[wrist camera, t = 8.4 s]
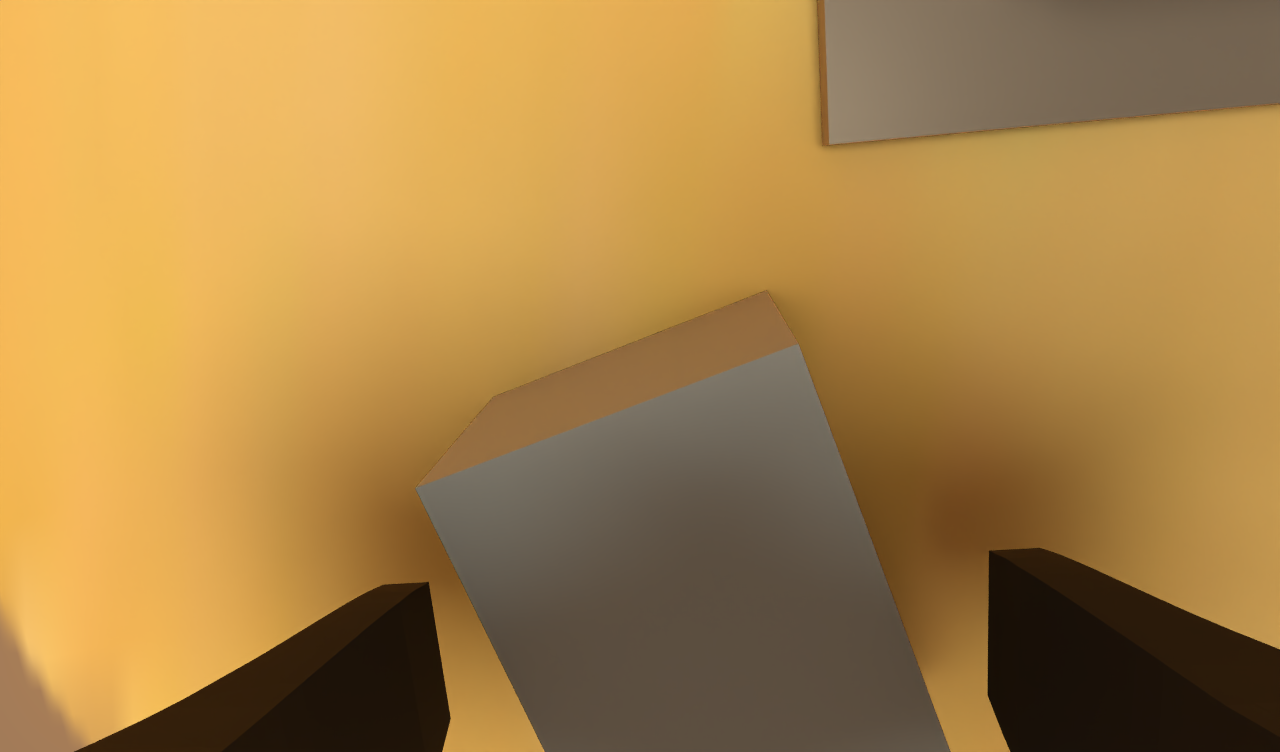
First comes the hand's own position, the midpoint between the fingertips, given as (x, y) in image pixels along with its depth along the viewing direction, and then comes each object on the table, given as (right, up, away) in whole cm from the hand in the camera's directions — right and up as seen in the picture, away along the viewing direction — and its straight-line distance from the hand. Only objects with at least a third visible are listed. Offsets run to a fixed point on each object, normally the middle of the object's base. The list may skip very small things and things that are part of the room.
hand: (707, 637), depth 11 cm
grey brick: (0, +1, +3) cm, 3 cm away
